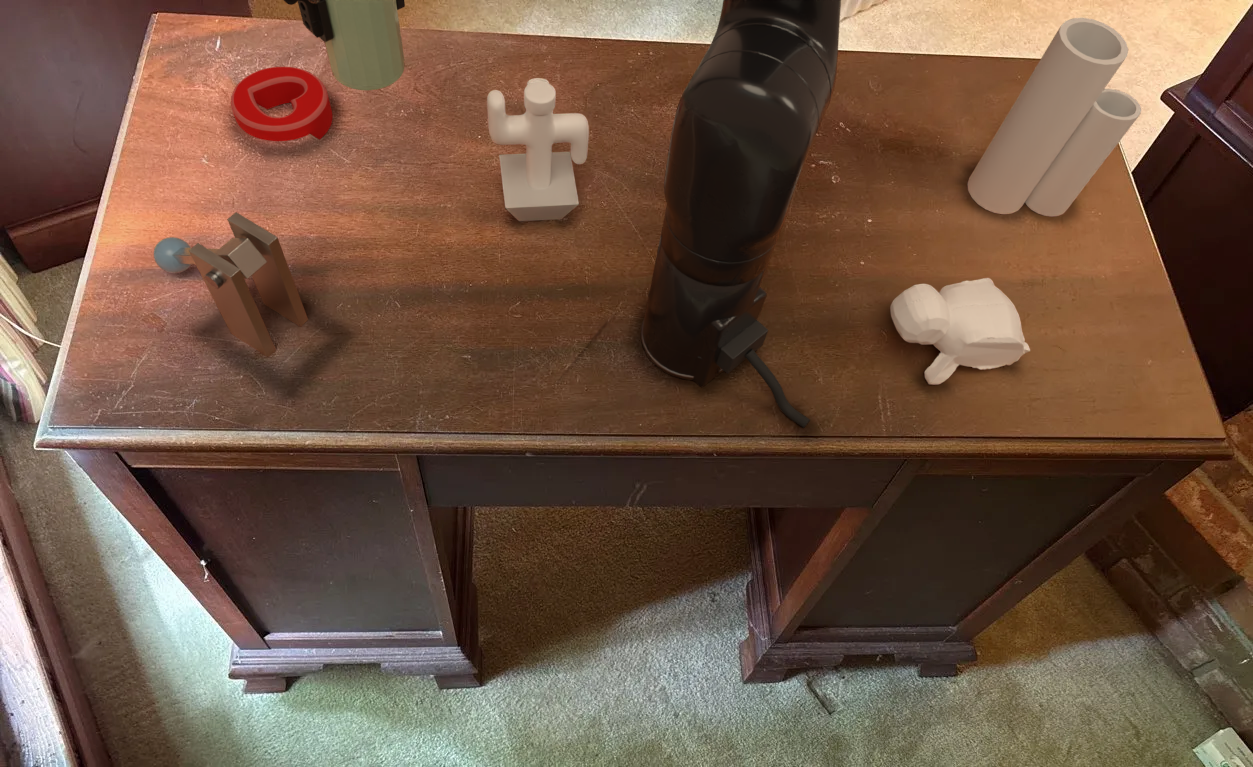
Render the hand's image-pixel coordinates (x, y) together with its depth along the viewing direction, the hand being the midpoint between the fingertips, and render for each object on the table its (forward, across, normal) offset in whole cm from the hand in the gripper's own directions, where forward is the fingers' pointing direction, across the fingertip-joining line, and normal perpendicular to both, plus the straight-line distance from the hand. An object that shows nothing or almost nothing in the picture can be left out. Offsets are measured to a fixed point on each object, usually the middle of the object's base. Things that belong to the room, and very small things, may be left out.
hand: (359, 18), depth 71 cm
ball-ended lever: (+16, -19, -2) cm, 25 cm away
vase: (+22, +54, -41) cm, 72 cm away
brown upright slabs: (+22, -18, -6) cm, 29 cm away
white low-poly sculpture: (+22, +30, -48) cm, 61 cm away
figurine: (+22, +11, -9) cm, 26 cm away
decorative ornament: (+22, -2, +17) cm, 27 cm away
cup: (+5, 0, 0) cm, 5 cm away
